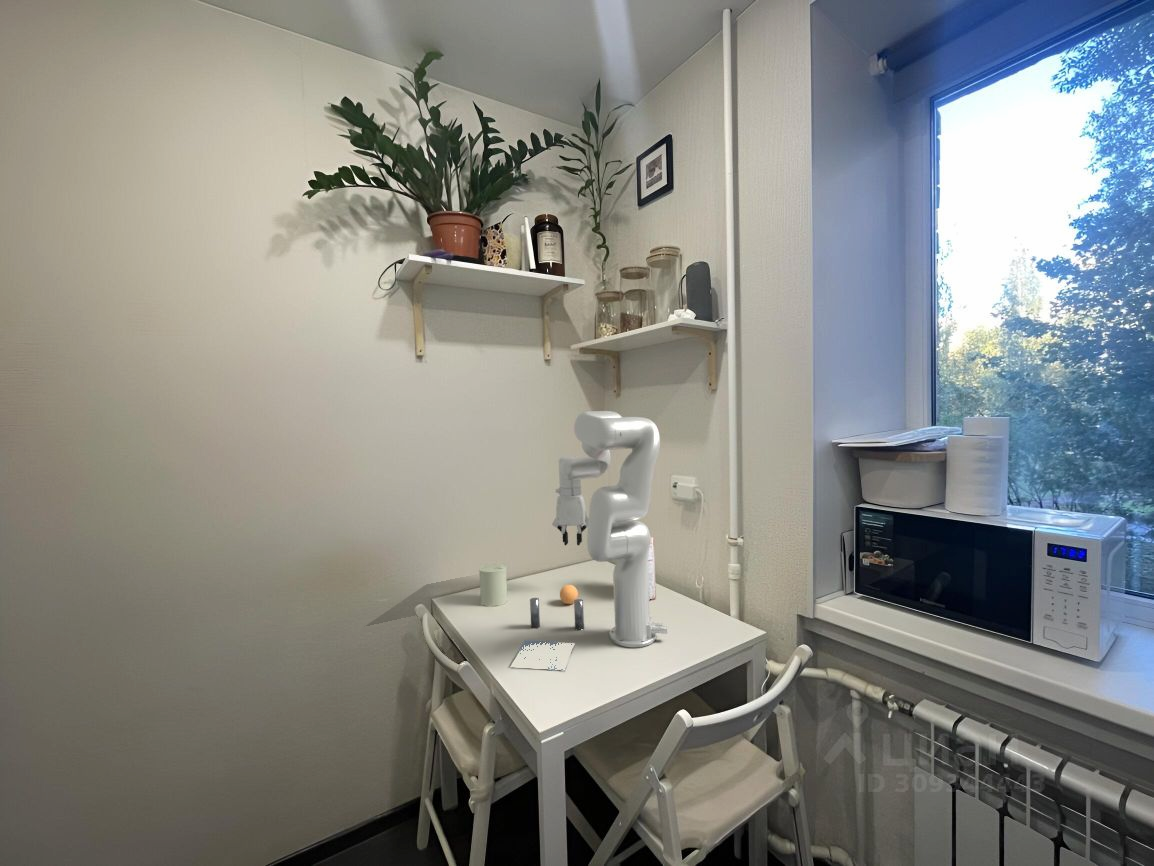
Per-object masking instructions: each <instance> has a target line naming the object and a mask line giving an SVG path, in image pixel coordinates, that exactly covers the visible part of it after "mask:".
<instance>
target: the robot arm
mask: <svg viewBox="0 0 1154 866" xmlns="http://www.w3.org/2000/svg"><path fill="white" fill-rule="evenodd" d="M573 425H574V426H573V432H574V434H575V435H574V436H575V437H576V438H577V440H578V441H579V442H581V448H582V451H583V452H584V453H585V456H562V457H560V458H559V459H558V481H559V482H558V483H559V487H558V488H555V493H557V494H558V496H557V499H556V508H555V509H556V510H555V512H556V513H555V514H556V515H555V519H554V520H553V522H552V524H551V525H552V526H553V527H555V528H557V530H559V532H560V533H561V534H562V543H564V546H567V545H568V544H569V535H568V534H569V533H568V531H567V527H568V526H569V527H570V526H571V527H572V526H573V527H574V526H575V527H576V529H577V531H576V532H577V533H576V545H577V546H580V545H581V543H582V542H583V532H585V530H586V529H587V534H586V536H587V537H586V544H587V545H586V546H587V547H586V549H587V552H588V554H589V557H590V558H591V559H592V560H593V561H595V562H598V563H601V562H603V563H604V562H610V561H611V562H612V561H616V562H615V565H614V569H613V571H612V575H613V576H612V577H613V579H612V580H613V607H614V608H613V609H614V627H612V628H611V629H610V631H609V638H610V640H611V642H612V643H614V644H615V645H618V646H621V647H626V648H642V647H647V646H649V645H651V644H653V643H654V642H655V641H656V639H657V634H661V635H662V634H663V635H667V634H668V625H663V622H654V621H652V616H651V615H650V600H649V584H648V558H649V550H650V544H651V537H652V536H651V533H650V530H649V528H648V526H647V525H646V524H645V523H644V522H642V521H639V520H640V519H643V518H644V517H645V516H647V514H648V512H649V507H650V502H651V493H652V485H653V477H654V476H653V475H654V470H655V466H656V462H657V461H658V460H657V459H658V456H659V453H660V449H661V448H660V447H661V437H660V431H659V429H658V426H657V425H656V423H655V422H653V421H652V420H651V419H649V418H646V417H641V416H622V415H621V414H619V413H618V412H616V411H613V410H599V411H598V410H595V411H594V410H593V411H588V410H586V411H583V412H580V414H579V415H578V416H577V417H576V418H575V421H574V424H573ZM616 450H618V451H619V450H631V452H630V453H629V454H628V455H627V456H626V457H625V459H624V461H622V462H623V463H622V464H621V467H620V471H619V479H618V480H619V481H618V482H617V484H616V485H607V486H602V487H601V486H600V487H599V488H597V489H596V490H595V491H594V492H593V493H592V495H591V498H590V503H589V508H588V509H589V512H588V516H587V510H586V509H587V508H586V503H585V501H586V500H585V498H584V495H583V494H582V480H587V479H588V480H589V479H597V478H600V477H601V476H603V475H604V474H605V473H606V472H607V471H608V469H609V467H610V466H611V459H612V457H611V452H610V451H616ZM586 455H587V456H586Z"/></svg>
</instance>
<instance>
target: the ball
mask: <svg viewBox="0 0 1154 866" xmlns="http://www.w3.org/2000/svg"><path fill="white" fill-rule="evenodd" d="M578 597H579V593H578V590H577V588H576V586H574V585H572V584H565V585H564V586H563V587H562V588H560V591H559V598H560V600H561V601H562V602H563V604H565V605H573V604H574V600H576V599H579V598H578Z"/></svg>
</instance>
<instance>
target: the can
mask: <svg viewBox="0 0 1154 866" xmlns="http://www.w3.org/2000/svg"><path fill="white" fill-rule="evenodd" d="M478 572H479V590H480V591H479V592H480V593H479V594H480V601H479V604H480V603H481V604H482V605H481V606H483V605H485V606H484V607H488V606H492V607H496V606H495V605H499V606H501V605H500V604H502V605H504V604H506V603H507V602H508V601H507V600H509V598H508V584H507V582H508V581H507V565H506V564H503V563H489V564H484V565H482V566H480V567H479V569H478ZM506 601H507V602H506ZM505 602H506V603H505ZM503 603H504V604H503Z"/></svg>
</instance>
